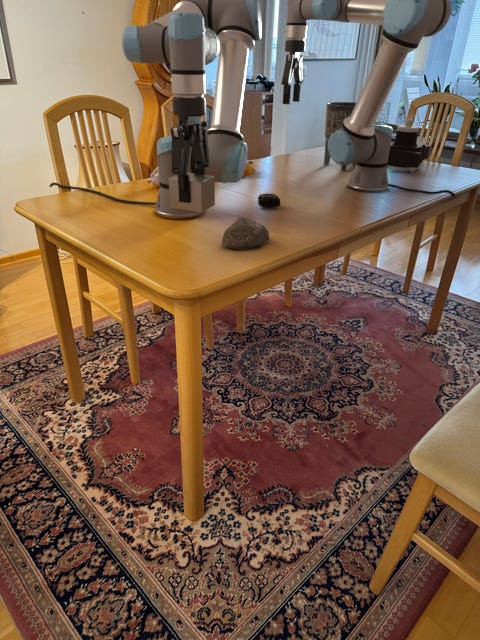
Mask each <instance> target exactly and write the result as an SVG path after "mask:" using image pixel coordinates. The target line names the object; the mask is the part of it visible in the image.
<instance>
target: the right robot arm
mask: <svg viewBox="0 0 480 640" xmlns="http://www.w3.org/2000/svg"><path fill="white" fill-rule="evenodd" d="M286 5H287V9H286V12H287V13H286V27H285V28H286V29H284V32H285V38H286V40H285V41H284V42H285V43H284V52H286V53H288V54H286V55H285V62H284V67H283V74H282V78H281V84H280V85H282V86H283V88H282V89H283V90H282V91H283V93H282V105H291V93H292V102H296V103H300V101H301V90H302V89H301V87H302V84H304V79H303V78H304V76H303V74H304V73H303V55H302V54H301V53H305V51H306V45H307V44H306V43H307V41H306V39H307V32H308V31H307V30H308V21H315V20H316V21H318V20H319V21H329V22H340V23H353V24H365V25H374V26H375V25H376V26H382V27H383V29H382V31H381V34H380V35H381V38H382V44H381V46H380V48H379V51H378V53H377V55H376V57H375V60H374V62H373V65H371V66H372V67H371V69H370V71H369V74H368V76H367V77H366V81H365V82H364V85H363V87H362V89H361V92H360V94H359V96H358V98H357V101H356V102H355V103H356V105H355V107H354V109H353V112H352V114H351V116H350V117H348V118H346V119H344V121H343V123H342V126H341V128H340V130H336V131H335V132H333V133H332V134H331V136H330V138H329V141H328V150H329V154H330V157H331V158H330V159H331V160H332V161H333V162H334V163H335V164H337V165H341V166H342V165H344V164H345V165H347V166H348V165H351V164H352V163H356V165H355V166H354V167H353V171H351V174H350V176H349V179H348V182H347V187H348V188H349V189H351V190H354V191H358V192H363V193H364V192H365V193H382V192H386V191H388V189H389V187H390V188H394V189H397V190H402V191H405V192H412V193H420V194H426V195H439V194H449V195H451V196H452V197H456V194H455V193H454V192H453V191H452V190H448V189H443V190H437V191H436V190H435V191H428V190H423V189H415V188H409V187H404V186H400V185H396V184H392V183H389V178H388V173H387V172H388V171H387V169H388V168H387V162H388V156H389V151H390V145H391V143H392V140H393V131H394V129H393V127H392V126H390V125H383V124H376V122H377V119H378V118H379V116H380V113H381V111H382V109H383V107H384V105H385V103H386V101H387V99H388V97H389V96H390V93H391V91H392V89H393V87H394V85H395V83H396V81H397V80H398V76H399V75H400V73H401V70H402V68H403V67H404V64H405V63H406V61H407V58H408V56H409V55H410V53H411V52H413V51H416V50H418V47H419V45H420V44H421V41H422V40H423V38H430V37H434V36H435V35H437V34H438V33H440V32H441V31H443V30H444V28H445V27H446V26H447V24H448V23H449V21H450V18H451V14H452V4H451V1H450V0H287V2H286ZM292 79H293V80H294V83H293V92H291V91H292V85H291V83H292Z"/></svg>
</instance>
